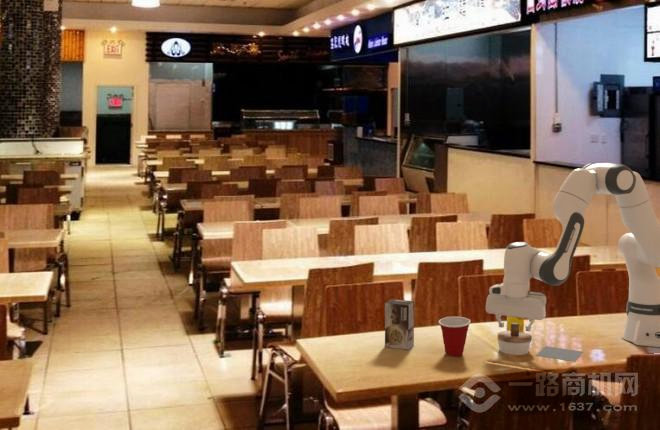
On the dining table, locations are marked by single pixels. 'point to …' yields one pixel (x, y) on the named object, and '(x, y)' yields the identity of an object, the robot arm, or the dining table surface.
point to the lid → (514, 335)
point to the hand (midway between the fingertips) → (514, 329)
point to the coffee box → (399, 324)
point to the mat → (559, 353)
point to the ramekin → (514, 347)
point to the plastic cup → (454, 334)
